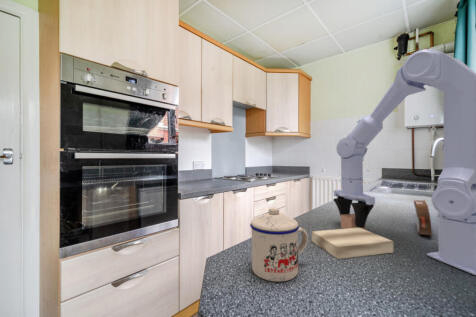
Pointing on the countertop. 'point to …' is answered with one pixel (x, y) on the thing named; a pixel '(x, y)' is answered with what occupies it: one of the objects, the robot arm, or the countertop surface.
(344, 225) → the block
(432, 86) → the robot arm
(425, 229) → the brown curved slab
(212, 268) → the countertop surface
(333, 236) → the base
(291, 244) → the teacup with lid
